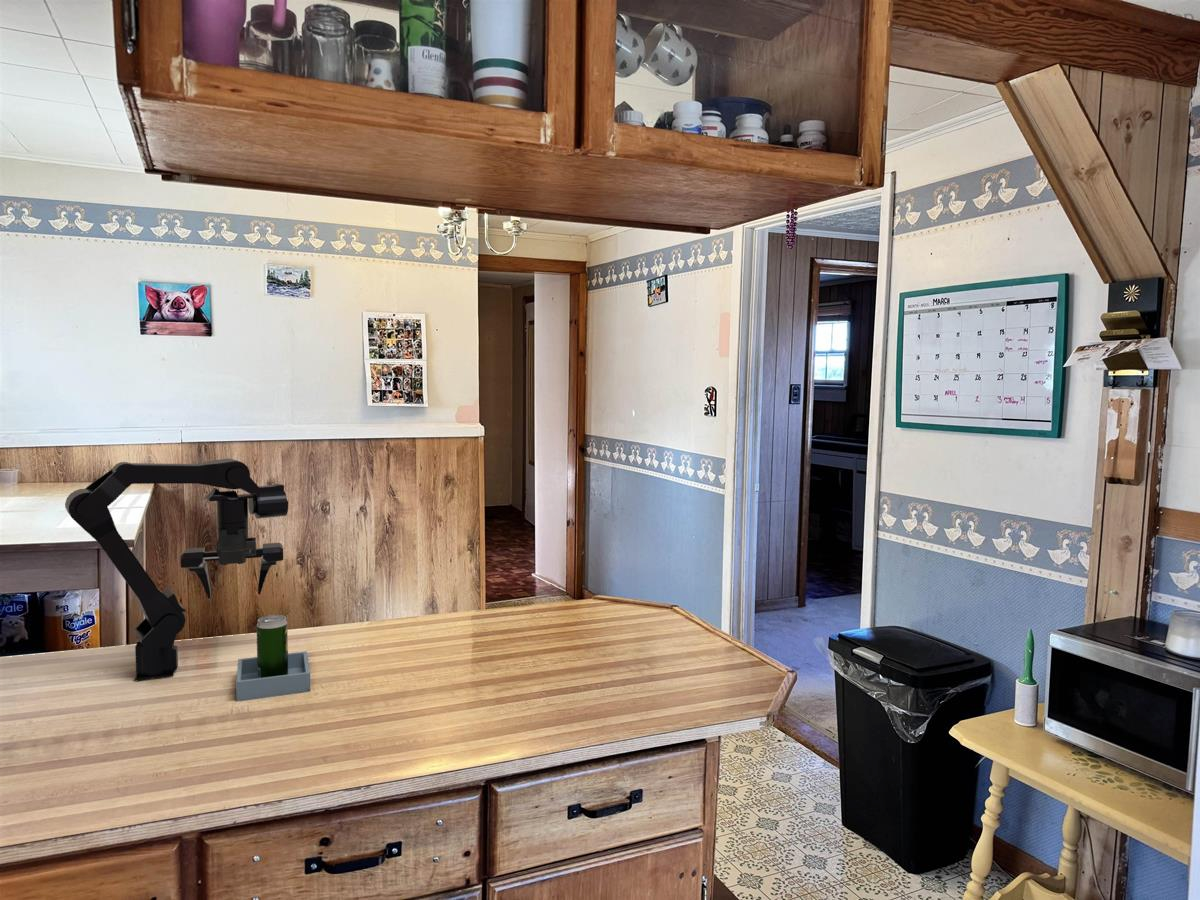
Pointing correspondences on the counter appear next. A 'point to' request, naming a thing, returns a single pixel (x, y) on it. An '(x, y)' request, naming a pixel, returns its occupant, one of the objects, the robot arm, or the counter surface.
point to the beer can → (272, 646)
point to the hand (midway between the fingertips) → (234, 596)
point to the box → (272, 678)
